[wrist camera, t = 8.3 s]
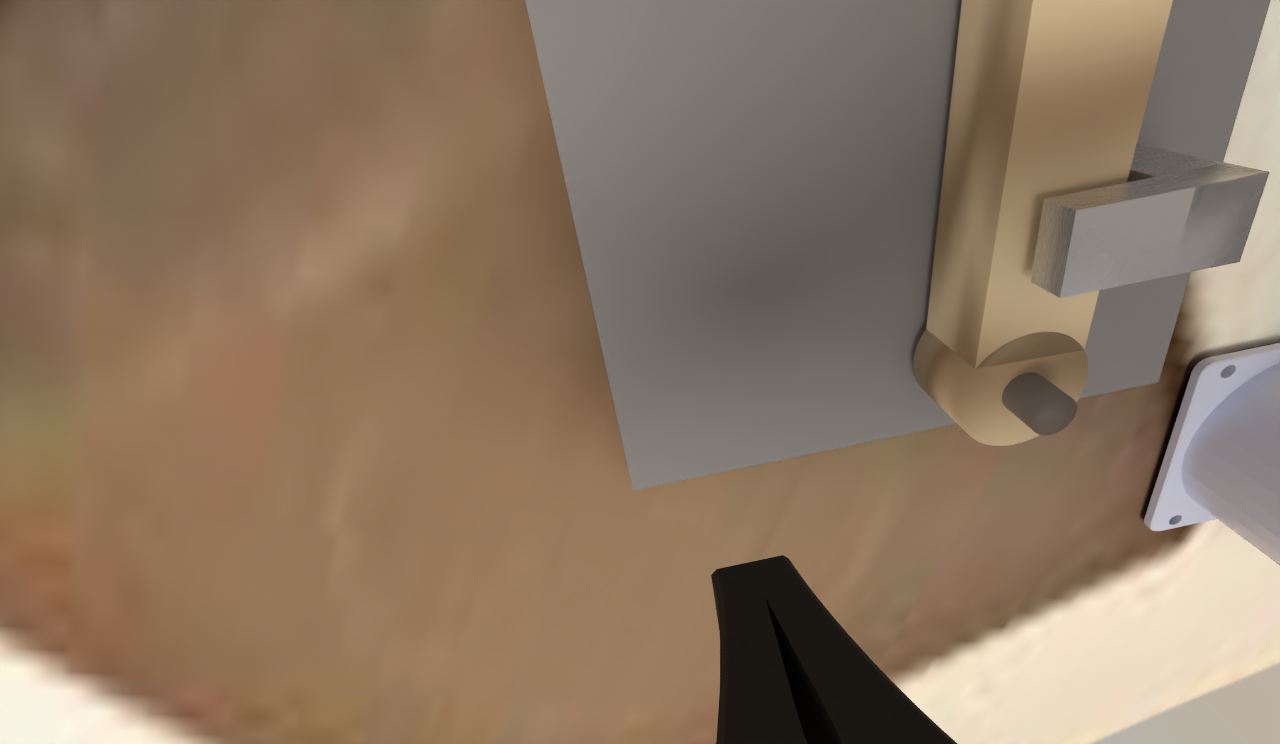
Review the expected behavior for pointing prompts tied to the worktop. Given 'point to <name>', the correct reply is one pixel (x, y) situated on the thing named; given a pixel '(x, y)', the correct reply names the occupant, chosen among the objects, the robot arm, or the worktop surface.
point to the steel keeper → (1147, 224)
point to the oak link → (1026, 200)
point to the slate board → (805, 210)
